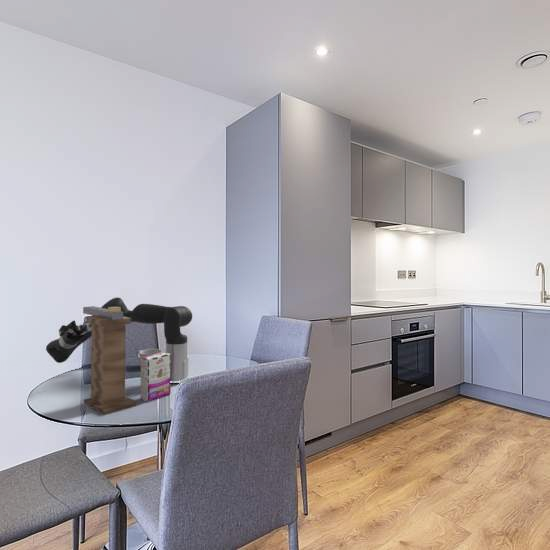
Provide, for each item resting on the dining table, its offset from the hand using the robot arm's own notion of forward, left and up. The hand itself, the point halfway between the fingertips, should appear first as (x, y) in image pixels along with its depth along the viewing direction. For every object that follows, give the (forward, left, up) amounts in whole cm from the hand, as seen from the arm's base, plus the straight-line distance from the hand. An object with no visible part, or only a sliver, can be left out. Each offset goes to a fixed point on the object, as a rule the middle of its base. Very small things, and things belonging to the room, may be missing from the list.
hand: (85, 321), depth 154 cm
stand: (-16, +13, -28) cm, 35 cm away
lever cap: (-11, +9, +4) cm, 15 cm away
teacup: (-11, -40, -28) cm, 50 cm away
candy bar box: (-30, +4, -28) cm, 42 cm away
